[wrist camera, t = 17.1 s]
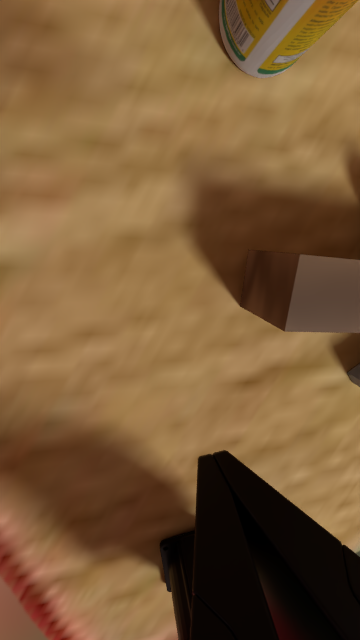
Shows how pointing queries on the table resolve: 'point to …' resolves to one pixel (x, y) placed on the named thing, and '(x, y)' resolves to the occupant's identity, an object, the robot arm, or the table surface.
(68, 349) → the table surface
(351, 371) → the grey stepped block
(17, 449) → the table surface
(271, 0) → the supplement bottle
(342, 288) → the walnut slat
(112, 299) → the table surface
